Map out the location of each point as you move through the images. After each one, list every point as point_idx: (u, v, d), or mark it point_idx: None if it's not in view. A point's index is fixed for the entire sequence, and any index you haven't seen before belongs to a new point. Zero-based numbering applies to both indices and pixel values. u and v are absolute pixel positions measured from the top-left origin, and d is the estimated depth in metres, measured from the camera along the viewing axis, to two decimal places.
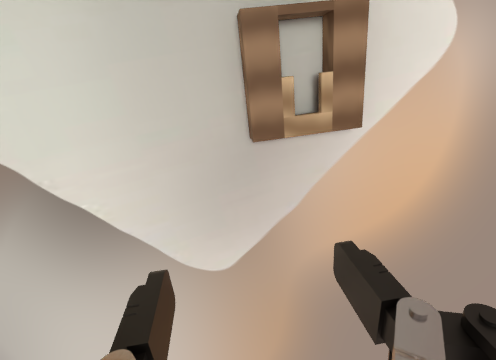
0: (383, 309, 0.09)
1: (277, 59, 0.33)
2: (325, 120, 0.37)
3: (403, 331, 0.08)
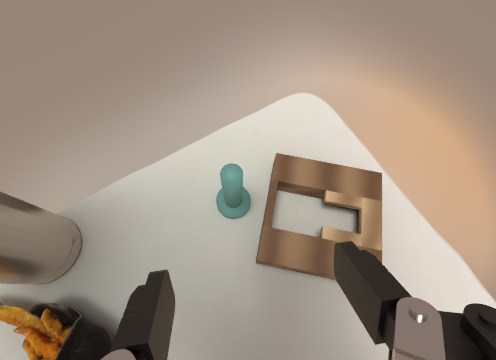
0: (383, 309, 0.09)
1: (305, 237, 0.35)
2: (369, 205, 0.37)
3: (403, 331, 0.08)
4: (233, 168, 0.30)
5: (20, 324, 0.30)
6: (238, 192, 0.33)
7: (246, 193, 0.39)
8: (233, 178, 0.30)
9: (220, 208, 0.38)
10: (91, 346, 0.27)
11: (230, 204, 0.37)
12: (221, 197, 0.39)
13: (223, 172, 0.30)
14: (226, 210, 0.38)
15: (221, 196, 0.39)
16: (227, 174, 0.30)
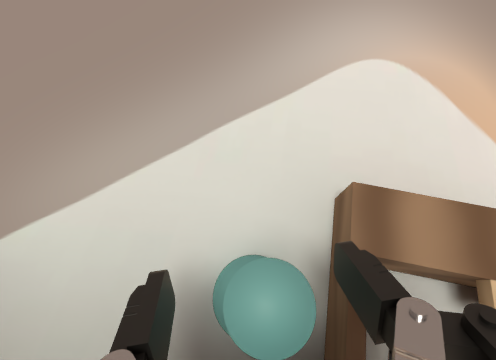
0: (383, 309, 0.09)
1: None
2: None
3: (403, 331, 0.08)
4: (275, 280, 0.08)
5: None
6: None
7: None
8: (276, 328, 0.07)
9: (222, 322, 0.15)
10: None
11: None
12: (223, 290, 0.16)
13: (236, 300, 0.07)
14: None
15: (225, 288, 0.16)
16: (252, 310, 0.07)
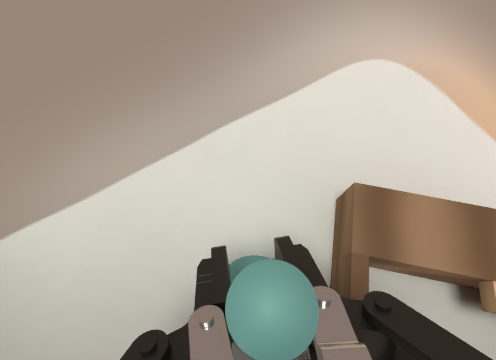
0: None
1: None
2: None
3: None
4: (278, 281, 0.07)
5: None
6: None
7: None
8: (278, 330, 0.07)
9: None
10: None
11: None
12: None
13: (238, 301, 0.07)
14: None
15: None
16: (255, 311, 0.07)
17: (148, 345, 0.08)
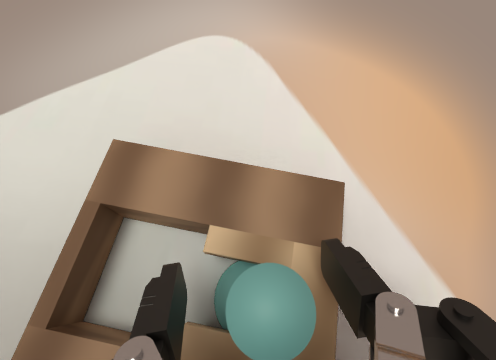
0: (363, 303, 0.09)
1: None
2: (311, 263, 0.15)
3: (379, 324, 0.08)
4: (276, 284, 0.08)
5: None
6: None
7: None
8: (277, 332, 0.07)
9: (224, 323, 0.16)
10: None
11: None
12: (225, 292, 0.16)
13: (238, 304, 0.08)
14: None
15: (226, 290, 0.16)
16: (254, 313, 0.07)
17: None
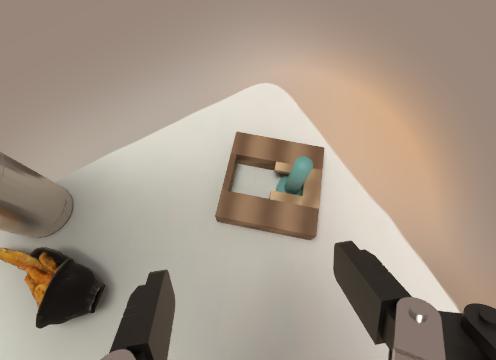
0: (383, 309, 0.09)
1: (256, 198, 0.42)
2: (311, 173, 0.44)
3: (403, 331, 0.08)
4: (304, 160, 0.37)
5: (22, 264, 0.37)
6: (304, 180, 0.40)
7: None
8: (305, 167, 0.37)
9: None
10: (78, 277, 0.35)
11: (291, 191, 0.44)
12: (281, 186, 0.46)
13: (297, 163, 0.37)
14: None
15: (281, 185, 0.46)
16: (300, 164, 0.37)
17: None
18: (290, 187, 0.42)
